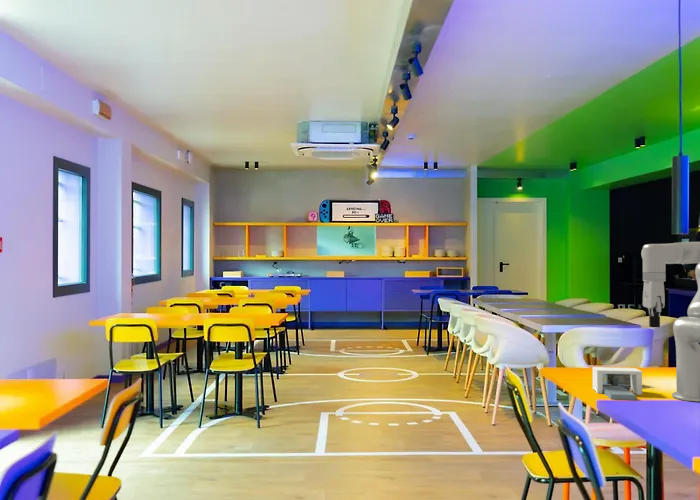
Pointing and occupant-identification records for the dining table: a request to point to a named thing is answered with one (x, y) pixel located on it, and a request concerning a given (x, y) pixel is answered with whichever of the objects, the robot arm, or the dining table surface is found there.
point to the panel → (618, 393)
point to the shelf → (635, 373)
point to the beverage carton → (617, 379)
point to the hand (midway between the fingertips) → (654, 327)
